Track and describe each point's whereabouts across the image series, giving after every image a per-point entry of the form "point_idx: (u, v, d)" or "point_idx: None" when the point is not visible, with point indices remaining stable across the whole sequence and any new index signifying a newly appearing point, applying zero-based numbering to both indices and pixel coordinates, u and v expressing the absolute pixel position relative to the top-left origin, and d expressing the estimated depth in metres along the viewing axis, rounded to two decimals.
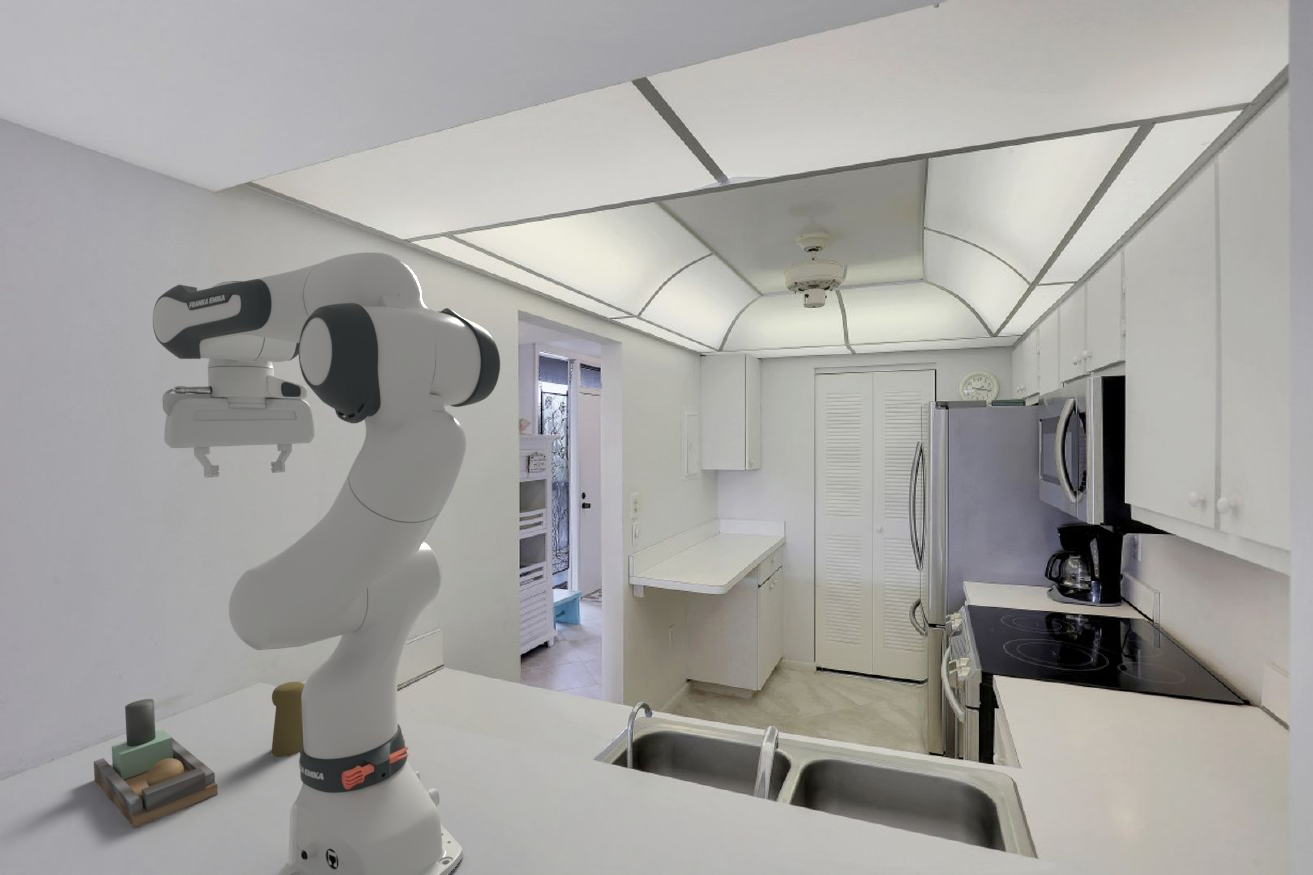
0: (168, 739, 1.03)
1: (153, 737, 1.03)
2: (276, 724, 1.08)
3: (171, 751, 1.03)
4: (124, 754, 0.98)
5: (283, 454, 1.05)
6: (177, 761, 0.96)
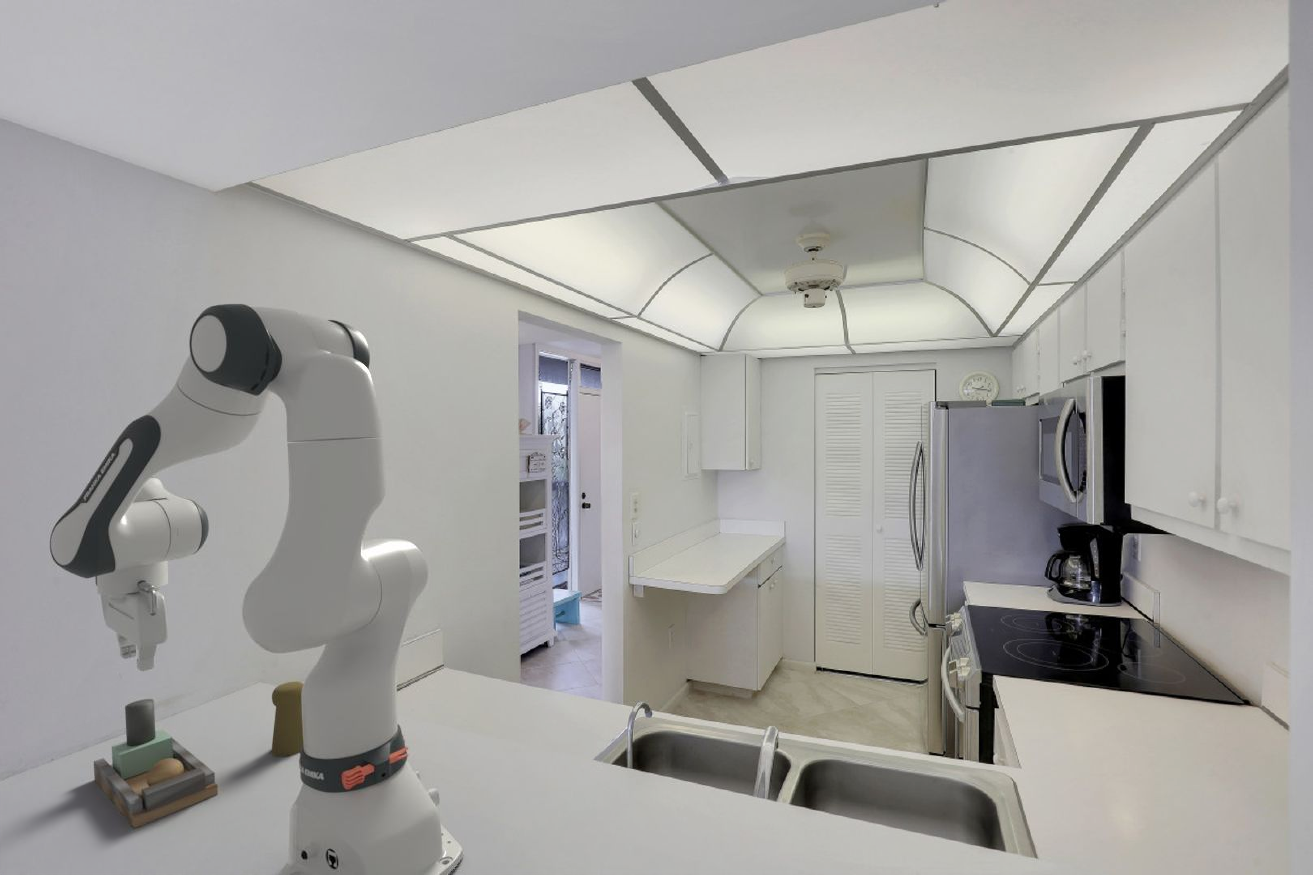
0: (168, 739, 1.03)
1: (153, 737, 1.03)
2: (276, 724, 1.08)
3: (171, 751, 1.03)
4: (124, 754, 0.98)
5: None
6: (177, 761, 0.96)
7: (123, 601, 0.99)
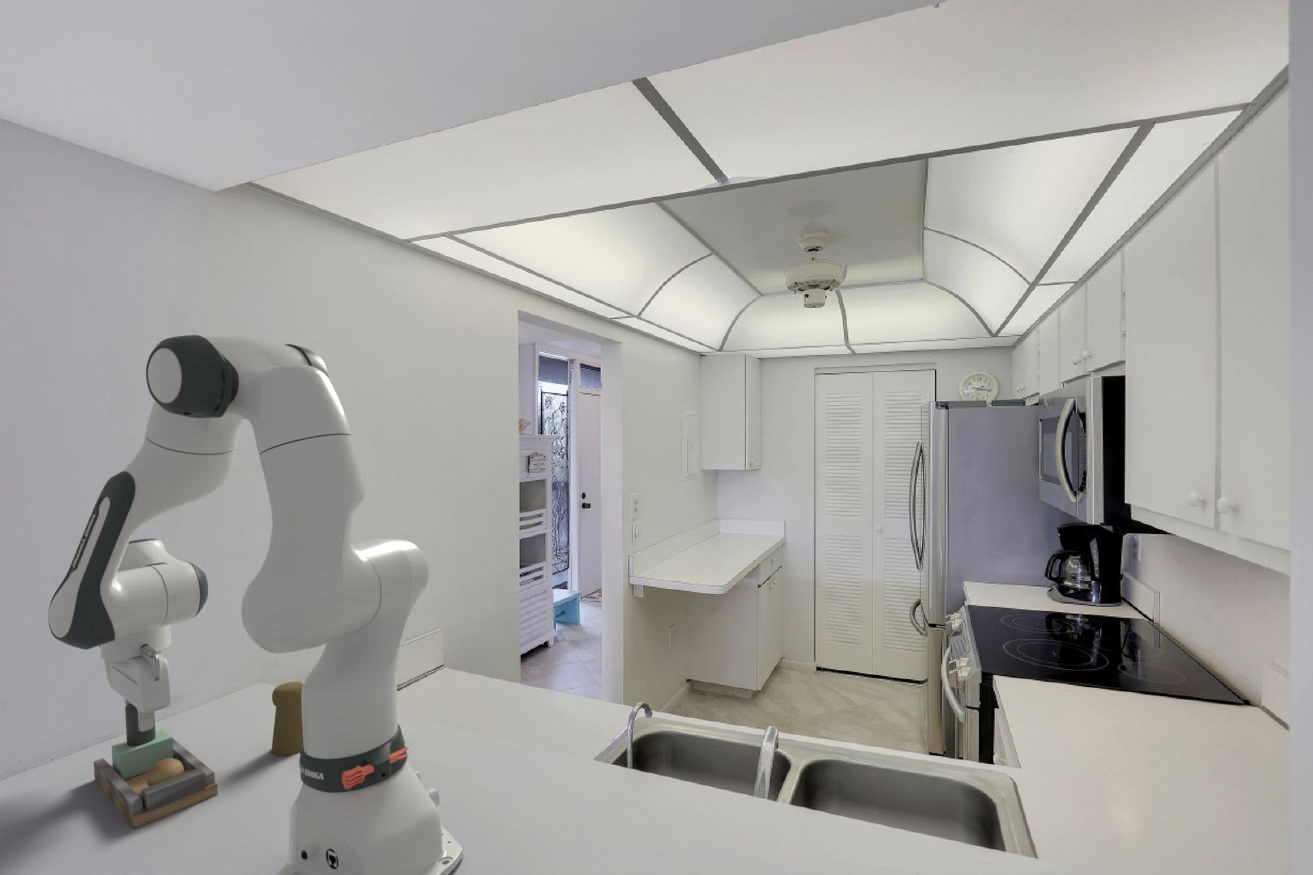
0: (168, 739, 1.03)
1: (153, 737, 1.03)
2: (276, 724, 1.08)
3: (171, 751, 1.03)
4: (124, 754, 0.98)
5: None
6: (177, 761, 0.96)
7: (126, 665, 0.99)
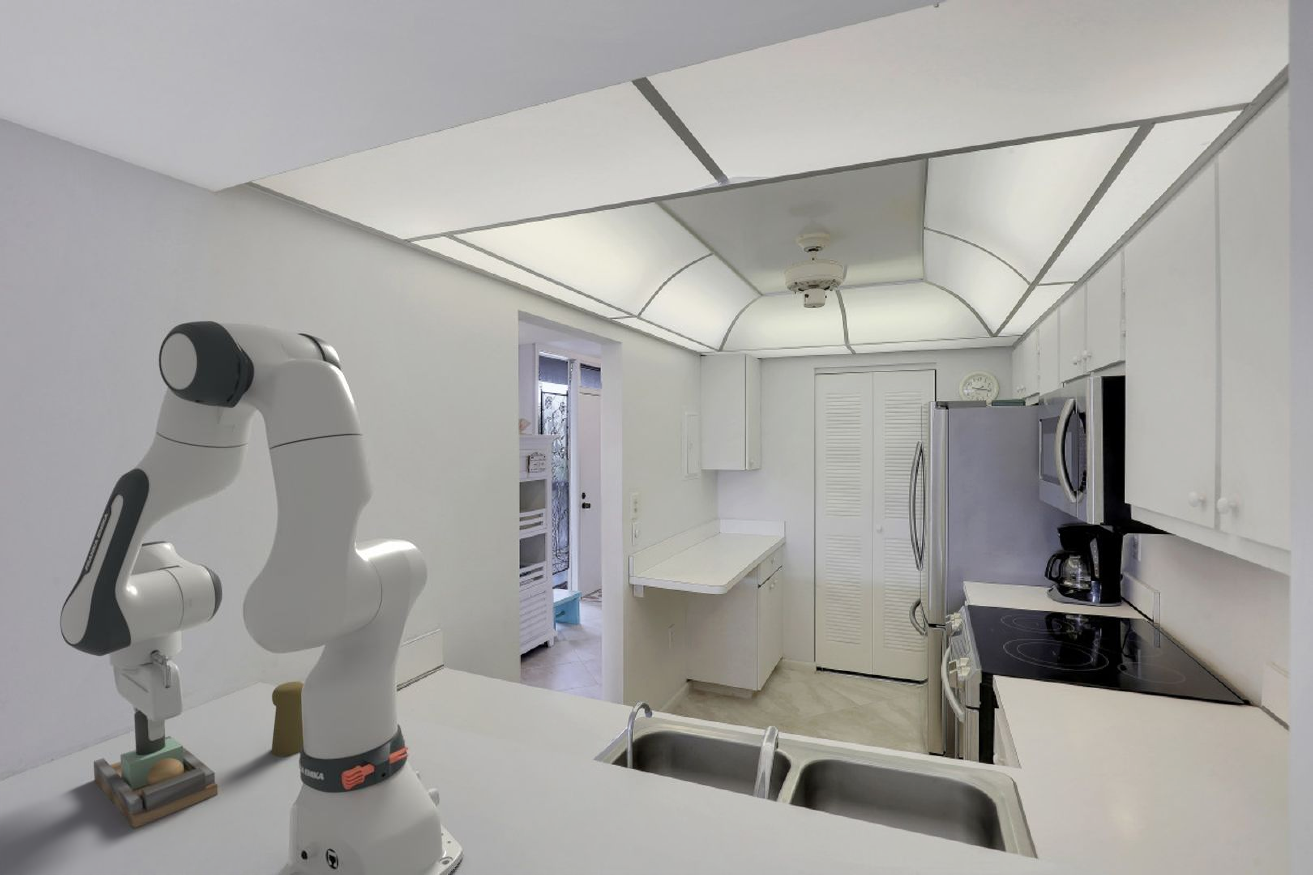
0: (178, 748, 1.00)
1: (163, 746, 1.00)
2: (276, 724, 1.08)
3: (181, 760, 1.00)
4: (134, 764, 0.95)
5: None
6: (177, 761, 0.96)
7: (136, 672, 0.96)
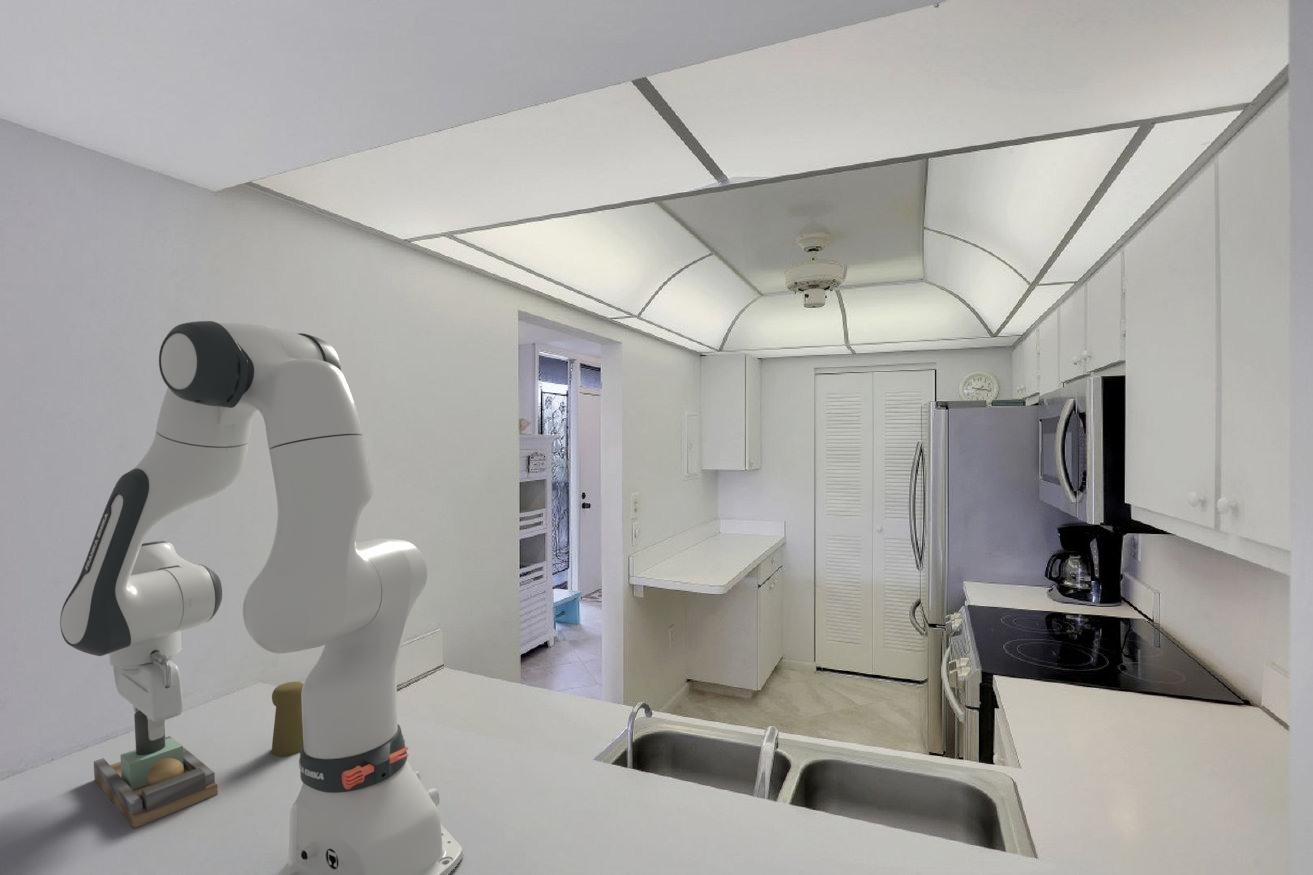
0: (178, 748, 1.00)
1: (163, 746, 1.00)
2: (276, 724, 1.08)
3: (181, 760, 1.00)
4: (134, 764, 0.95)
5: None
6: (177, 761, 0.96)
7: (136, 672, 0.96)
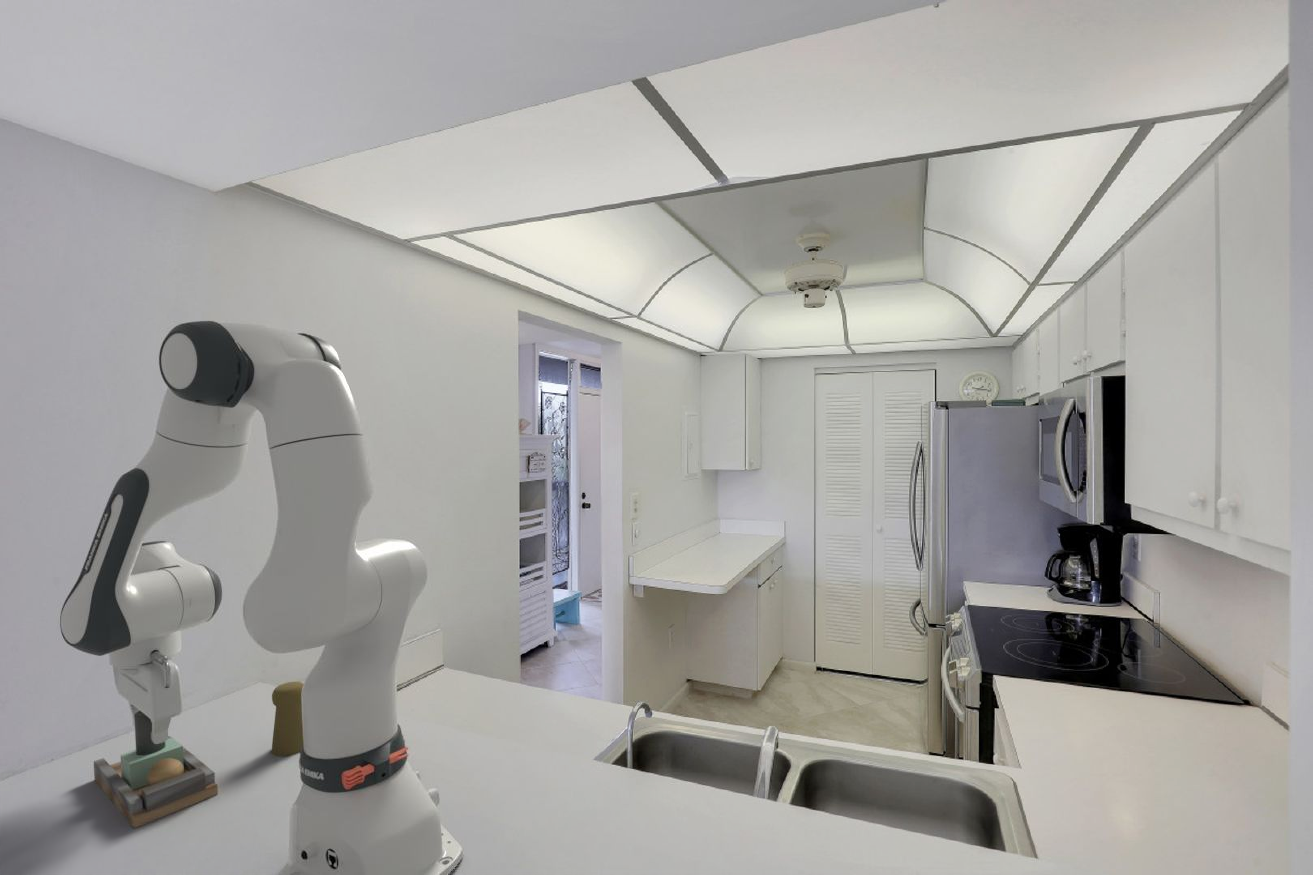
0: (178, 748, 1.00)
1: (163, 746, 1.00)
2: (276, 724, 1.08)
3: (182, 760, 1.00)
4: (134, 764, 0.95)
5: None
6: (177, 761, 0.96)
7: (136, 672, 0.96)
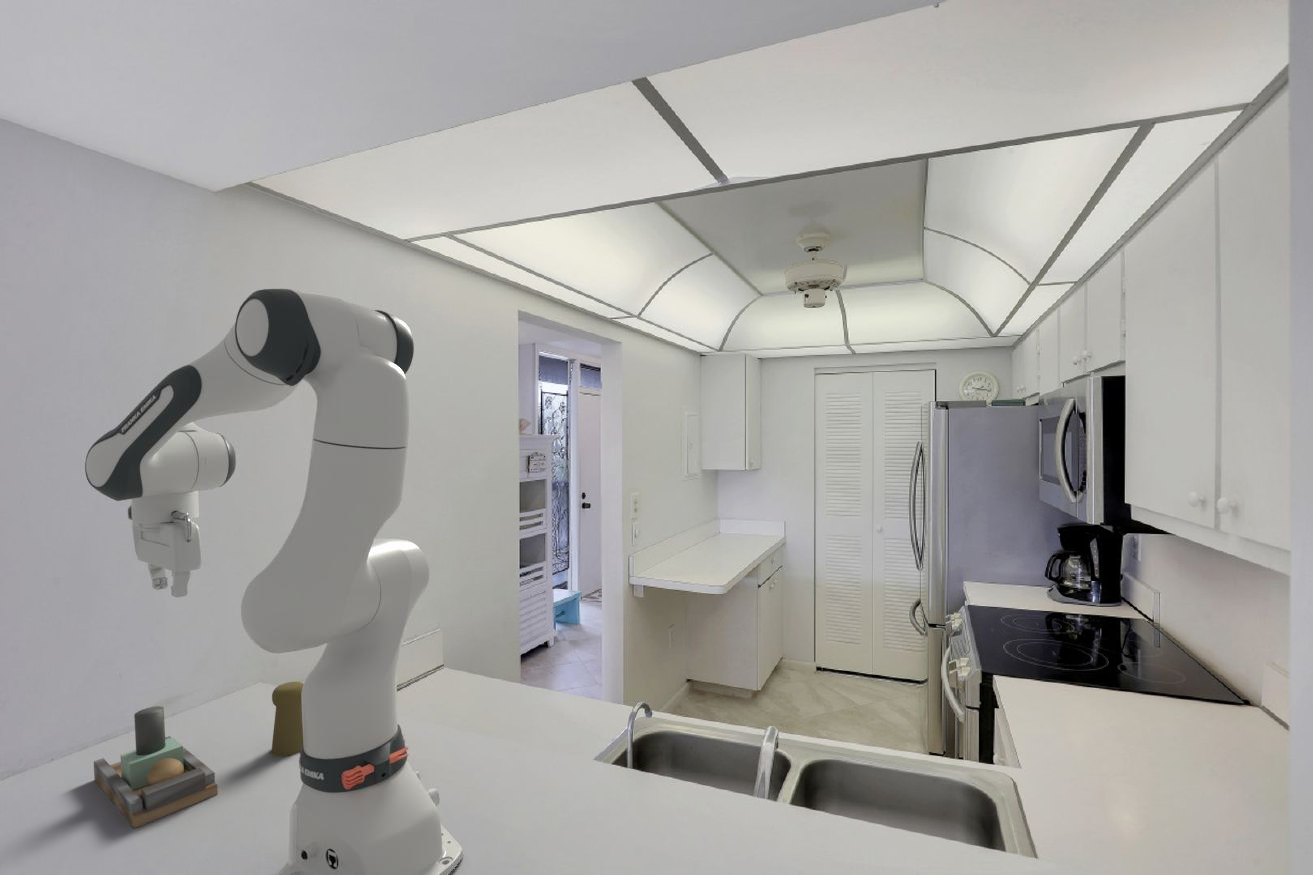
0: (178, 748, 1.00)
1: (163, 746, 1.00)
2: (276, 724, 1.08)
3: (182, 760, 1.00)
4: (134, 764, 0.95)
5: (161, 570, 1.09)
6: (177, 761, 0.96)
7: (157, 530, 1.03)
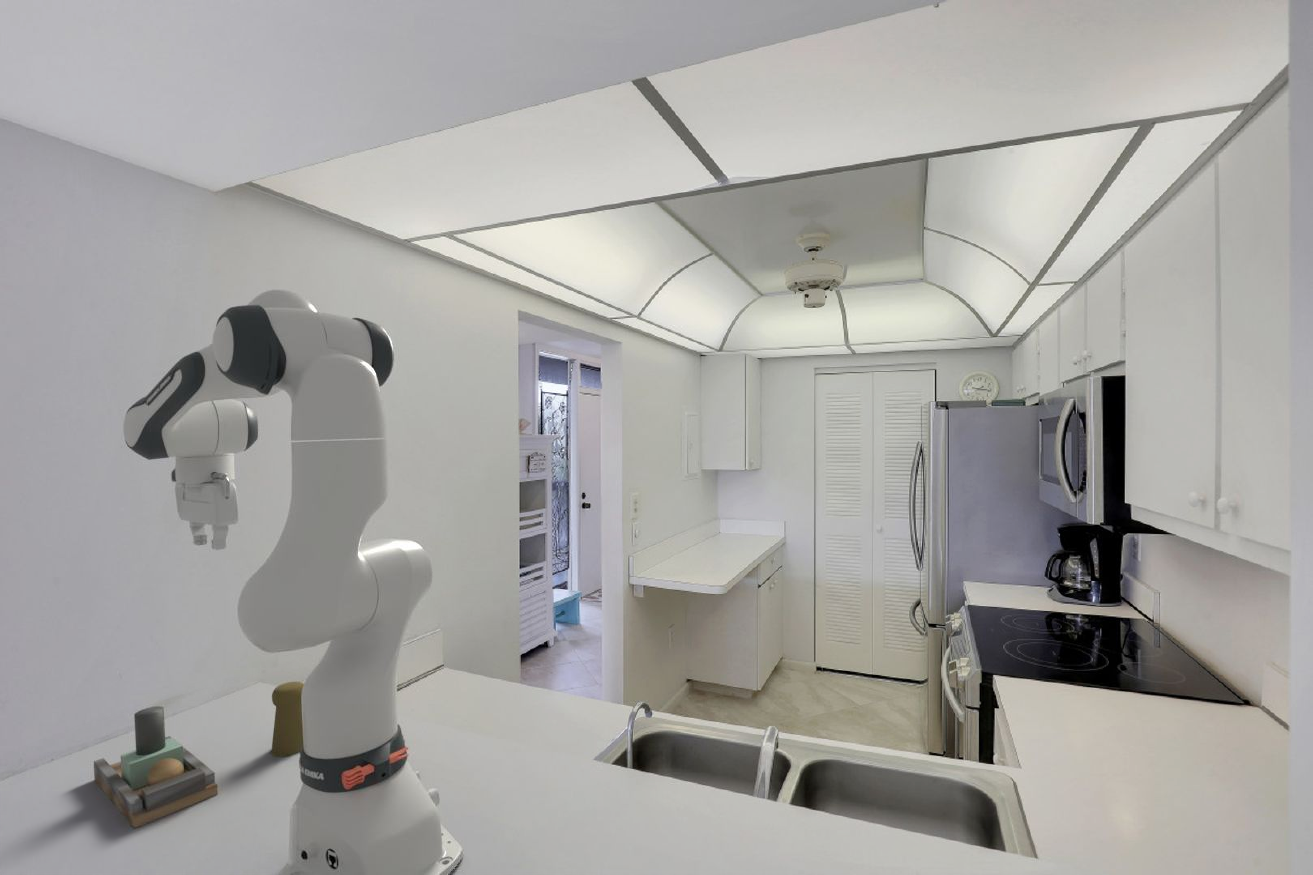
0: (178, 748, 1.00)
1: (163, 746, 1.00)
2: (276, 724, 1.08)
3: (182, 760, 1.00)
4: (134, 764, 0.95)
5: (201, 528, 1.21)
6: (177, 761, 0.96)
7: (199, 490, 1.14)
